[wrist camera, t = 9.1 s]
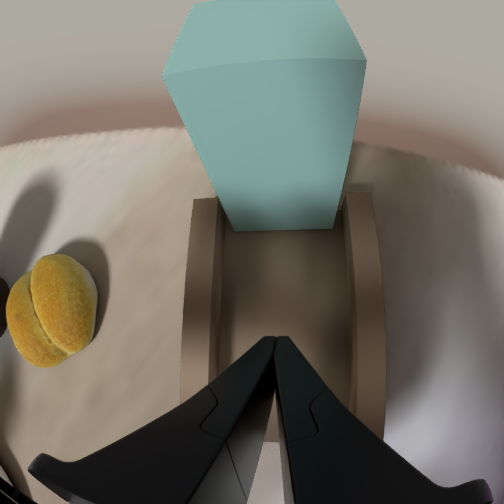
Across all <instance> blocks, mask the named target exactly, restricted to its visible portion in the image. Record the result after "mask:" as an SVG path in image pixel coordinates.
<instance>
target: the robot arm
mask: <svg viewBox="0 0 504 504" xmlns="http://www.w3.org/2000/svg"><path fill="white" fill-rule="evenodd" d="M274 395H275V398H276V410H277V421H278V432H279V443H280V454H281V465H282V477H283V489H284V500H285V504H492V502H493V498H492V494H491V491H490V489H489V486H488V484H487V483H486V481H485V480H484V479H476V480H472V481H470V482H467V483H464V484H461V485H458V486H455V487H450V488H447V487H441V486H438V485H436V484H434V483H433V482H432V481H431V480H429V479H428V478H427V477H426V476H424V475H423V474H422V473H421V472H420V471H418V470H417V469H416V468H415V467H413V466H412V465H411V464H410V463H409V462H407V461H406V460H405V459H404V458H403V457H402V456H400V455H399V454H398V453H397V452H396V451H394V450H393V449H392V448H391V447H390V446H389V445H387V444H386V443H385V442H384V441H383V440H382V439H381V438H379V437H378V436H377V435H376V434H375V433H374V432H373V431H371V430H370V429H369V428H368V427H367V426H366V425H365V424H364V423H362V422H361V421H360V420H359V419H358V418H357V417H356V416H355V415H354V414H353V413H351V412H350V411H349V410H348V409H347V408H346V407H345V406H344V405H343V404H342V403H341V401H340V400H339V399H338V398H337V397H336V396H335V394H334V393H333V392H332V391H331V389H330V388H328V386H327V385H326V384H325V382H324V381H323V380H322V378H321V377H320V376H319V375H318V373H317V372H316V371H315V369H314V368H313V367H312V366H311V364H310V363H309V362H308V360H307V359H306V358H305V357H304V355H303V354H302V353H301V351H300V350H299V349H298V347H297V346H296V345H295V344H294V342H293V341H292V340H291V338H290V337H289V336H277V337H275V336H264V337H262V338H261V339H260V340H259V341H258V342H257V343H256V344H254V345H253V346H252V347H251V348H250V349H249V350H248V351H246V352H245V353H244V354H243V355H242V356H241V357H240V358H238V359H237V360H236V361H235V362H234V363H233V364H231V365H230V366H229V367H228V368H227V369H226V370H224V371H223V372H222V373H221V374H220V375H218V376H217V377H216V378H215V379H214V380H212V381H211V382H210V383H209V384H208V385H206V386H205V387H203V388H202V389H201V390H200V391H198V392H197V393H196V394H194V395H193V396H192V397H190V398H189V399H188V400H186V401H185V402H183V403H182V404H180V405H179V406H177V407H175V408H174V409H172V410H171V411H169V412H167V413H166V414H164V415H162V416H160V417H159V418H157V419H155V420H154V421H152V422H150V423H148V424H147V425H145V426H143V427H141V428H140V429H138V430H136V431H134V432H132V433H131V434H129V435H127V436H125V437H123V438H121V439H120V440H118V441H116V442H114V443H112V444H110V445H108V446H106V447H104V448H102V449H100V450H98V451H96V452H94V453H92V454H90V455H88V456H86V457H84V458H82V459H80V460H77V461H75V462H63V461H60V460H58V459H56V458H54V457H52V456H50V455H48V454H45V453H41V454H39V455H38V456H37V457H36V458H35V459H34V460H33V461H32V463H31V464H30V466H29V467H28V472H29V473H30V474H31V475H32V476H34V477H35V478H36V479H37V480H38V481H40V482H41V483H42V484H43V485H45V486H46V487H47V488H49V489H50V490H51V491H53V492H54V493H55V494H57V495H58V496H60V497H61V498H62V499H64V500H65V501H67V504H247V500H248V497H249V493H250V490H251V486H252V483H253V479H254V475H255V472H256V468H257V464H258V461H259V457H260V453H261V449H262V445H263V441H264V437H265V433H266V429H267V425H268V421H269V417H270V413H271V409H272V404H273V400H274ZM0 504H37V503H36V502H34V501H33V500H31V499H30V498H28V497H27V496H25V495H24V494H22V493H21V492H20V491H18V490H17V489H16V488H14V487H13V486H12V485H10V484H9V483H8V482H6V481H5V480H4V479H3V478H2V477H0Z"/></svg>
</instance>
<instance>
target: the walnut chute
mask: <svg viewBox="0 0 504 504" xmlns="http://www.w3.org/2000/svg"><path fill="white" fill-rule="evenodd" d="M264 336H275V337H277V336H289V337H290V338H291V340H292V341H293V342H294V344H295V345H296V346H297V347H298V349H299V350H300V351H301V353H302V354H303V355H304V357H305V358H306V359H307V360H308V362H309V363H310V364H311V366H312V367H313V368H314V369H315V371H316V372H317V373H318V375H319V376H320V377H321V378H322V380H323V381H324V382H325V384H326V385H327V386H328V388H330V389H331V391H332V392H333V393H334V394H335V396H336V397H337V398H338V399H339V400H340V401H341V403H342V404H343V405H344V406H345V407H346V408H347V409H348V410H349V411H350V412H351V413H353V414H354V415H355V416H356V417H357V418H358V419H359V420H360V421H361V422H362V423H364V424H365V425H366V426H367V427H368V428H369V429H370V430H371V431H373V432H374V433H375V434H376V435H377V436H378V437H379V438H381V439H382V440H383V437H384V424H385V406H386V327H385V308H384V294H383V282H382V272H381V262H380V253H379V245H378V238H377V231H376V224H375V217H374V211H373V205H372V199H371V193H345V197H344V201H343V205H342V208H341V210H337V212H336V216H335V220H334V224H333V228H332V229H301V230H269V231H241V232H235V231H234V229H233V227H232V225H231V222H230V220H229V218H228V216H227V214H226V213H225V211H224V209H223V207H222V205H221V203H220V201H219V199H218V198H205V199H194V201H193V209H192V218H191V227H190V237H189V247H188V257H187V269H186V281H185V294H184V309H183V326H182V346H181V373H180V404H182V403H183V402H185V401H186V400H188V399H189V398H190V397H192V396H193V395H194V394H196V393H197V392H198V391H200V390H201V389H202V388H203V387H205V386H206V385H208V384H209V383H210V382H211V381H212V380H214V379H215V378H216V377H217V376H218V375H220V374H221V373H222V372H223V371H224V370H226V369H227V368H228V367H229V366H230V365H231V364H233V363H234V362H235V361H236V360H237V359H238V358H240V357H241V356H242V355H243V354H244V353H245V352H246V351H248V350H249V349H250V348H251V347H252V346H253V345H254V344H256V343H257V342H258V341H259V340H260V339H261V338H262V337H264ZM263 442H279V432H278V421H277V410H276V398H275V395H274V400H273V404H272V409H271V413H270V417H269V421H268V425H267V429H266V433H265V437H264V441H263Z"/></svg>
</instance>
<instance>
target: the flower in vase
mask: <svg viewBox="0 0 504 504" xmlns="http://www.w3.org/2000/svg"><path fill="white" fill-rule="evenodd" d="M0 477H2V478H3V479H4V480H5V481H6V482H8V483H9V484H10V485H12V484H11V482H10V480H9V478H8V477H7V475H6V473H5V472H4V470H3V469H2V467H1V465H0Z"/></svg>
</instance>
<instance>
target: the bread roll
mask: <svg viewBox="0 0 504 504" xmlns="http://www.w3.org/2000/svg"><path fill="white" fill-rule="evenodd" d="M97 300H98V292H97V288H96V285H95V282H94V280H93V278H92V276H91V274H90V273H89V271H88V270H87V269H86V268H85V267H84V266H82V265H81V264H80V263H79V262H77V261H76V260H75V259H74V258H72V257H70V256H67V255H64V254H51V255H46V256H43V257H42V258H40V259H39V260H38V261H37V262H36V264H35V265H34V267H33V269H32V270H31V271H29V272H27V273H26V274H24V275H23V276H22V277H20V278H19V279H18V281H17V282H16V283H15V284H14V286H13V287H12V288H11V291H10V293H9V297H8V301H7V304H6V318H7V324H8V328H9V331H10V334H11V337H12V339H13V341H14V344H15V346H16V348H17V350H18V351H19V352H20V354H21V355H22V356H23V357H24V358H25V359H26V360H27V361H29V362H30V363H31V364H33V365H34V366H37V367H41V368H47V367H54V366H56V365H58V364H60V363H61V362H62V361H64V360H65V359H66V358H68V357H69V356H71V355H72V354H74V353H77V352H79V351H81V350H82V349H84V348H85V347H86V346H87V345H88V344H89V343H90V341H91V340H92V337H93V334H94V328H95V318H96V308H97Z"/></svg>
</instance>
